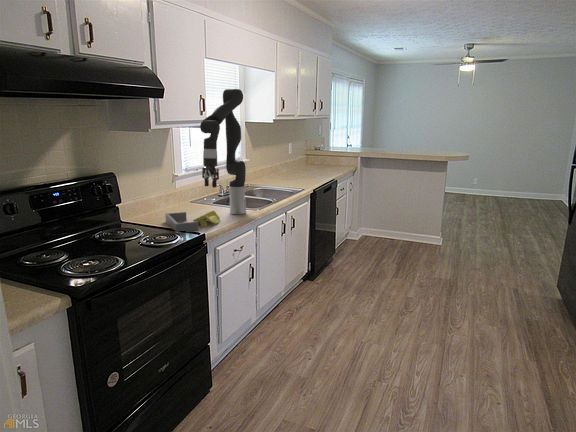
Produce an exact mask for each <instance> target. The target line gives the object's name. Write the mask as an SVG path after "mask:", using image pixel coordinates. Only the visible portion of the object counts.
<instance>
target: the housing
mask: <svg viewBox="0 0 576 432" xmlns="http://www.w3.org/2000/svg"><path fill="white" fill-rule="evenodd" d="M164 215H165V223H166V224H167V226H169V228H170V229H171V230H172V229H173V230H175V231H176V232H179V231H186V232H185V233H192V232H198V231H199V224H198V222H197V221H196V222H194V221H188V222H187V220H188V219H187V212H186V211H183V212H181V211H180V212H170V213H167V212H166V213H165V214H164ZM185 221H186V222H185ZM178 222H179V223H178ZM173 230H172V231H173Z"/></svg>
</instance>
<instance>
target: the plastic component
mask: <svg viewBox="0 0 576 432" xmlns="http://www.w3.org/2000/svg"><path fill="white" fill-rule="evenodd" d="M196 221H197V222H198V225H199V224H200V226H201V227H202V228H204V227H206V226H208V224H209V223H211V224H212V225H217V224H218V223H220V222H221V218H220V216H219V215H218V213H217V212H216V211H215V210H211V211H209V212H206V213H205V214H203V215H200V216H199V217H197V218H195V219H193V220H192V222H196ZM207 221H208V222H209V223H208V222H207Z"/></svg>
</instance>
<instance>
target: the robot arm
mask: <svg viewBox="0 0 576 432" xmlns="http://www.w3.org/2000/svg"><path fill="white" fill-rule="evenodd" d="M243 101H244V93H243V91H242V90H241V89H239V88H226V89H224V90H223V92H222V102H223V103H222V104H221V105H220V106H218V107H217V108H215V110H214V111H213V112H212V113H211V114H210V115H208V116H207V117H205V118H204V119H203V120H202V121H201V122H200V124H199V125H200V127H199V129H200V132H202V133H203V134H209V137H205V138H204V139H203V154H202V155H203V156H202V159H203V160H202V161H203V162H202V163H203V167H202V169H201V170H202V171H201V172H202V175H201V176H202V177H201V178H202V179H203V180H204V187H209V186H210V182H209V181H210V180H209V179H210V178H211V180H212V184H211V185H212V188H217V181H218V180H219V179H220V172H219V170H220V169H219V168H216V167H217V166H218V150H217V149H218V148H217V145H218V138H219V134H220V131H221V127H220V125H221V124H222V123H223V121H225V122H224V123H225V141H226V163H225V167H226V168H225V169H226V173H227V175H231V176H235V179H233V180H230V181H229V214H232V215H243V214H247V199H246V197H245V195H246V194H245V183H246V176H247V175H246V174H247V173H246V172H247V170H246V169H247V167H246V163H245V162H244V161H243V160H236V152H237V149H238V147H239V145H240V143H241V141H242V128H241V125H240V123H239V121H238V120H237V118H236V117H235V114H234V112H233V111H234V110H236V108H237V107H239V106H240V105H241V104H242V102H243Z"/></svg>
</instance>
